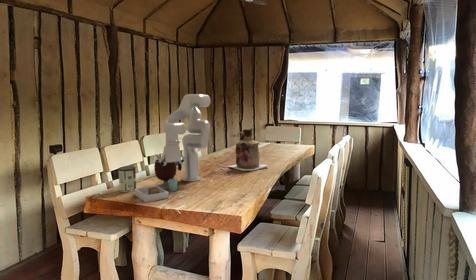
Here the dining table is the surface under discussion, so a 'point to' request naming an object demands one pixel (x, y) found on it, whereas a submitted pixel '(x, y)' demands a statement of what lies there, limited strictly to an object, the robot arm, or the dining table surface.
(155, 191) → the walnut cube
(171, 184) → the teal rounded capsule
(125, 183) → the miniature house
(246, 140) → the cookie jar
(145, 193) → the grey tote
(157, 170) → the mate gourd
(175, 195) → the dining table surface
